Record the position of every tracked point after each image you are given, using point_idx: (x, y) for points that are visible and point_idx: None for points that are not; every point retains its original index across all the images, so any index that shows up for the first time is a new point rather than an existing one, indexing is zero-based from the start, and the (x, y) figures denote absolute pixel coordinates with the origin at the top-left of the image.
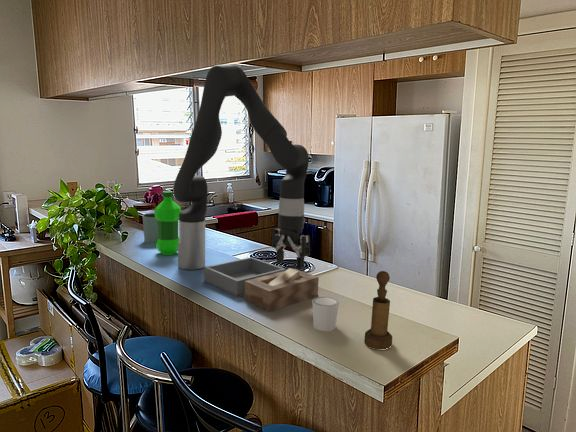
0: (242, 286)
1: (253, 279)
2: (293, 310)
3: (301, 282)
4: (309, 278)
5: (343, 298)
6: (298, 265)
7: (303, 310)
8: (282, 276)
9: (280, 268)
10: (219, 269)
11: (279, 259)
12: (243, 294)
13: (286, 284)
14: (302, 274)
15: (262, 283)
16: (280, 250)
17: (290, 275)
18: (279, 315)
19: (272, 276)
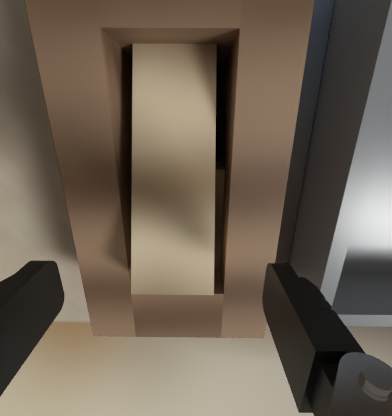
0: (359, 12)
1: (300, 10)
2: None
3: (73, 231)
4: (99, 297)
5: (60, 315)
6: (12, 283)
7: (29, 139)
8: (187, 202)
9: (338, 314)
10: None
11: (276, 288)
12: (329, 40)
13: (77, 134)
14: (167, 311)
15: (185, 1)
16: (320, 388)
17: (146, 233)
18: (25, 6)
19: (249, 172)
